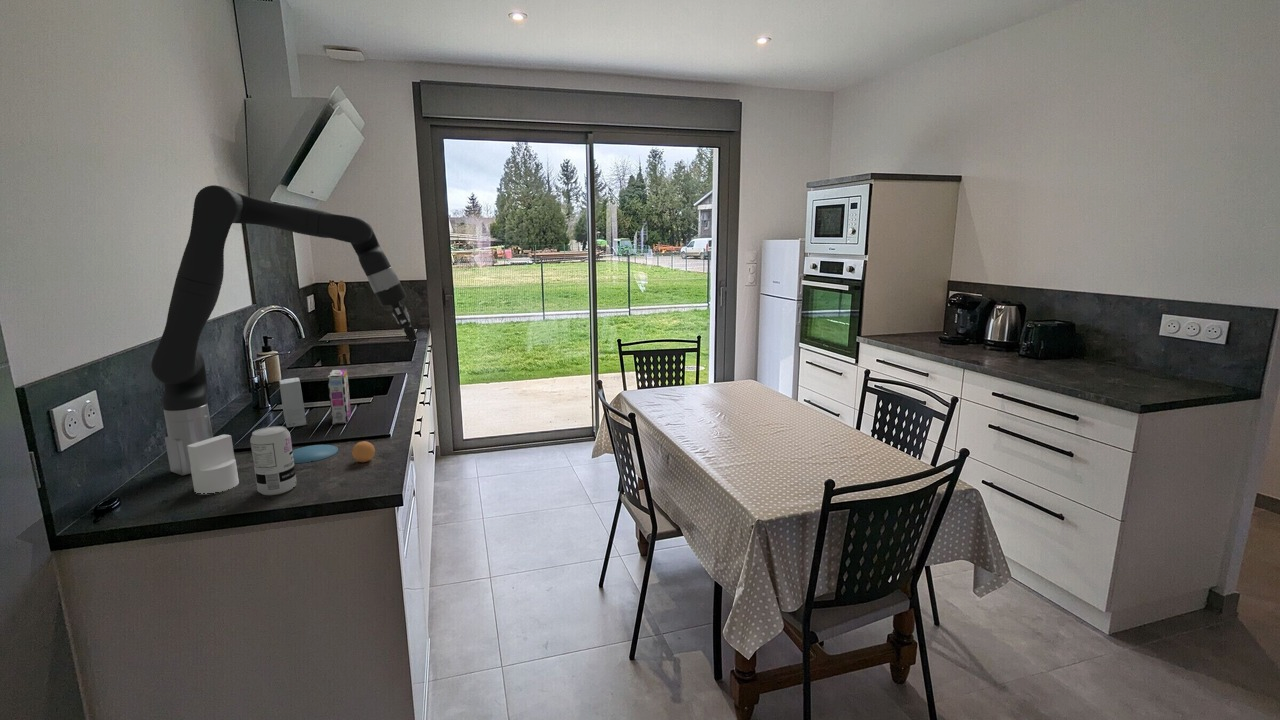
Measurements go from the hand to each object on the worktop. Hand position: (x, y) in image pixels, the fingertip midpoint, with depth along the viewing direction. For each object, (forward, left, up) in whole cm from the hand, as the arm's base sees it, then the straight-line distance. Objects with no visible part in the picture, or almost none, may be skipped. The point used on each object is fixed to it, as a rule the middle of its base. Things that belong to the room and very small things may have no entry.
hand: (413, 337), depth 171 cm
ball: (-20, 0, -29) cm, 35 cm away
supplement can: (-42, +3, -32) cm, 52 cm away
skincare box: (-8, +50, -32) cm, 60 cm away
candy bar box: (+2, +40, -32) cm, 51 cm away
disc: (-23, +19, -31) cm, 43 cm away
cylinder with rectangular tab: (-48, +18, -32) cm, 60 cm away
